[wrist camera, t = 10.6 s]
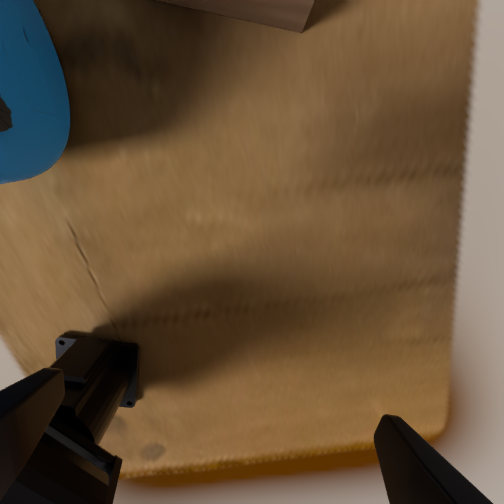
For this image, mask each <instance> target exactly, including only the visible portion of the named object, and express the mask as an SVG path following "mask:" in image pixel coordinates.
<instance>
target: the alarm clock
mask: <svg viewBox="0 0 504 504" xmlns="http://www.w3.org/2000/svg"><path fill="white" fill-rule="evenodd" d="M69 131H70V105H69V98H68V92H67V87H66V82H65V79H64V75H63V71H62V68H61V65H60V62H59V59H58V56H57V53H56V50H55V47H54V45H53V42H52V40H51V37H50V35H49V33H48V30H47V28H46V26H45V24H44V21H43V19H42V17H41V15H40V13H39V11H38V9H37V7H36V5H35V3H34V1H33V0H0V184H4V183H9V182H15V181H20V180H25V179H28V178H32V177H34V176H37V175H39V174H41V173H43V172H45V171H46V170H48V169H49V168H51V167H52V166H53V165H54V164H55V163H56V162H57V160H58V159H59V158H60V156H61V155H62V153H63V151H64V149H65V147H66V144H67V141H68V137H69Z"/></svg>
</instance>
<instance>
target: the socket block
mask: <svg viewBox="0 0 504 504" xmlns="http://www.w3.org/2000/svg"><path fill="white" fill-rule="evenodd" d="M157 1H161V2H165V3H170V4H174V5H179V6H183V7H188V8H192V9H197V10H201V11H205V12H210V13H214V14H219V15H223V16H228V17H232V18H237V19H241V20H245V21H250V22H254V23H259V24H263V25H268V26H272V27H277V28H281V29H285V30H290V31H294V32H299V33H302V31H303V28H304V26H305V23H306V21H307V18H308V16H309V13H310V11H311V9H312V6H313V4H314V1H315V0H157Z"/></svg>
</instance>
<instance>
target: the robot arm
mask: <svg viewBox="0 0 504 504" xmlns="http://www.w3.org/2000/svg"><path fill="white" fill-rule="evenodd" d="M62 340H63V341H64V342H63V341H62ZM55 343H56V361H55V362H54V363H53V364H52V365H51V366H50V367H48V368H43V369H41V370H39V371H37V372H35V373H33V374H31V375H30V376H28V377H26V378H24V379H22V380H20V381H18V382H16V383H14V384H12V385H10V386H8V387H6V388H5V389H3V390H1V391H0V504H113V499H114V495H115V491H116V486H117V482H118V478H119V473H120V469H121V465H122V459H121V458H119V457H118V456H116V455H115V456H113V455H112V454H110V453H109V452H108V451H106V450H105V449H103V448H102V447H100V446H99V443H100V441H101V439H102V437H103V436H104V434H105V432H106V430H107V428H108V426H109V424H110V422H111V421H112V419H113V417H114V415H115V413H116V411H117V409H118V407H128V408H132V407H134V406H135V404H136V402H137V390H138V372H139V354H140V348H139V346H138V345H136V344H133V343H125V342H118V341H110V340H103V339H95V338H88V337H81V336H73V335H66V334H62V335H60V336H59V337H58V338H57V339H56V341H55ZM131 349H132V350H134V351H132V350H131ZM130 401H131V402H130ZM374 444H375V448H376V452H377V456H378V460H379V464H380V468H381V472H382V476H383V479H384V483H385V487H386V491H387V495H388V499H389V502H390V504H493V503H492V502H491V501H490V500H489V499H488V498H487V497H485V496H484V495H483V494H482V493H481V492H480V491H479V490H478V489H477V488H476V487H475V486H474V485H473V484H472V483H471V482H469V481H468V480H467V479H466V478H465V477H464V476H463V475H462V474H461V473H460V472H459V471H458V470H456V469H455V468H454V467H453V466H452V465H451V464H450V463H449V462H448V461H447V460H446V459H445V458H444V457H443V456H441V455H440V454H439V453H438V452H437V451H436V450H435V449H434V448H433V447H432V446H431V445H429V443H427V442H426V441H425V440H424V439H423V438H422V437H421V436H420V435H419V434H418V433H417V432H416V431H415V430H413V429H412V428H411V427H410V426H409V425H408V424H407V423H406V422H405V421H404V420H403V419H402V418H400V417H399V416H395V415H388V414H385V415H383V416H382V418H381V420H380V422H379V424H378V426H377V429H376V431H375V433H374Z"/></svg>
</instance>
